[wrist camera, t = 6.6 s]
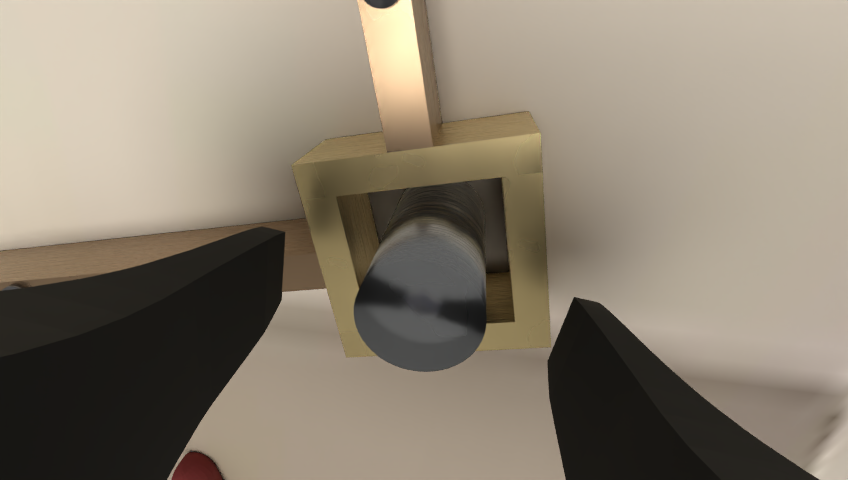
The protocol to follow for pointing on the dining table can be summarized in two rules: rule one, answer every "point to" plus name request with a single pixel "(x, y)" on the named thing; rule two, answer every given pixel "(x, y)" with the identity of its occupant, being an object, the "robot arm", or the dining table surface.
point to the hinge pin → (427, 281)
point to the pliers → (196, 468)
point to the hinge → (349, 202)
